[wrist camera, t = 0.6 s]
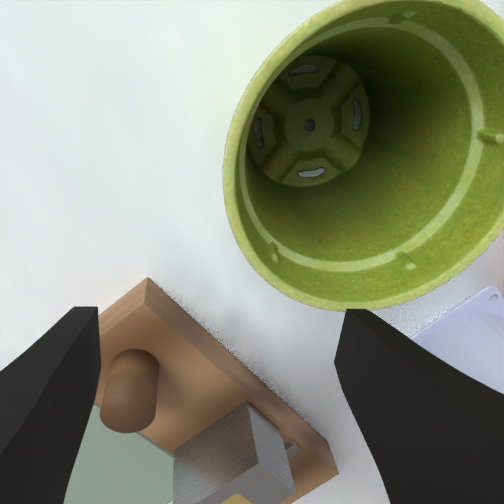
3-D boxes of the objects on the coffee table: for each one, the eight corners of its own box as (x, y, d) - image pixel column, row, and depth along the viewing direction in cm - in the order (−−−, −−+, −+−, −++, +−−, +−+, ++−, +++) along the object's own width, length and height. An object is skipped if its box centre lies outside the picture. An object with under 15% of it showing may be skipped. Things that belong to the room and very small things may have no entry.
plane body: (327, 441, 30) (355, 519, 25) (260, 484, 31) (275, 567, 26) (147, 277, 22) (137, 343, 17) (65, 341, 23) (34, 421, 18)
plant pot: (403, 196, 22) (522, 277, 14) (229, 236, 22) (255, 342, 14) (401, -9, 18) (569, -52, 10) (183, 35, 17) (184, 26, 10)
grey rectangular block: (279, 427, 25) (295, 492, 21) (209, 474, 26) (213, 543, 22) (246, 399, 23) (258, 463, 20) (173, 449, 24) (172, 519, 21)
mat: (204, 473, 29) (204, 479, 29) (119, 529, 30) (119, 535, 30) (94, 399, 25) (93, 404, 24) (2, 468, 26) (-1, 474, 26)
